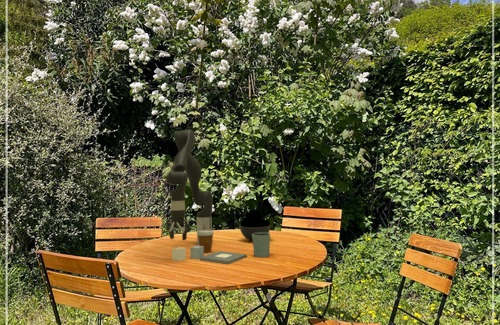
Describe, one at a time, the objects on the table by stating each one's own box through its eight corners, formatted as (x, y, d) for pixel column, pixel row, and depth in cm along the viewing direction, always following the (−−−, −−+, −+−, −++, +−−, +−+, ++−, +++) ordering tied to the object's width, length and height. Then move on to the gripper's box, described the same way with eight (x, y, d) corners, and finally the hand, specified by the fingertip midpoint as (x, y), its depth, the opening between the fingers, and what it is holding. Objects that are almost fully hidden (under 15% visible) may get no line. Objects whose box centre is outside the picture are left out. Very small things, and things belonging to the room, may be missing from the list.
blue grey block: (196, 256, 239) (196, 245, 239) (203, 257, 236) (203, 246, 236) (190, 258, 235) (190, 247, 235) (197, 259, 232) (197, 248, 232)
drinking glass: (264, 258, 232) (264, 236, 232) (248, 256, 237) (248, 234, 237) (273, 254, 240) (273, 233, 240) (258, 252, 246) (257, 231, 246)
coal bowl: (263, 237, 295) (263, 209, 294) (275, 242, 276) (275, 212, 276) (235, 239, 288) (235, 210, 287) (245, 244, 269) (245, 214, 269)
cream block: (178, 258, 235) (178, 247, 235) (185, 259, 233) (185, 248, 233) (172, 260, 231) (172, 248, 231) (179, 261, 229) (179, 249, 229)
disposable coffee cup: (216, 250, 253) (216, 230, 253) (209, 254, 244) (209, 232, 244) (201, 249, 256) (201, 229, 256) (194, 253, 247) (194, 232, 247)
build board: (219, 253, 245) (219, 250, 245) (246, 257, 235) (246, 254, 235) (199, 260, 230) (199, 257, 230) (227, 264, 220) (227, 261, 220)
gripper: (192, 209, 231) (193, 239, 231) (172, 207, 239) (172, 237, 239) (183, 210, 225) (183, 241, 225) (163, 209, 232) (163, 239, 232)
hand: (178, 239), depth 232 cm, fingers open, 8 cm apart
